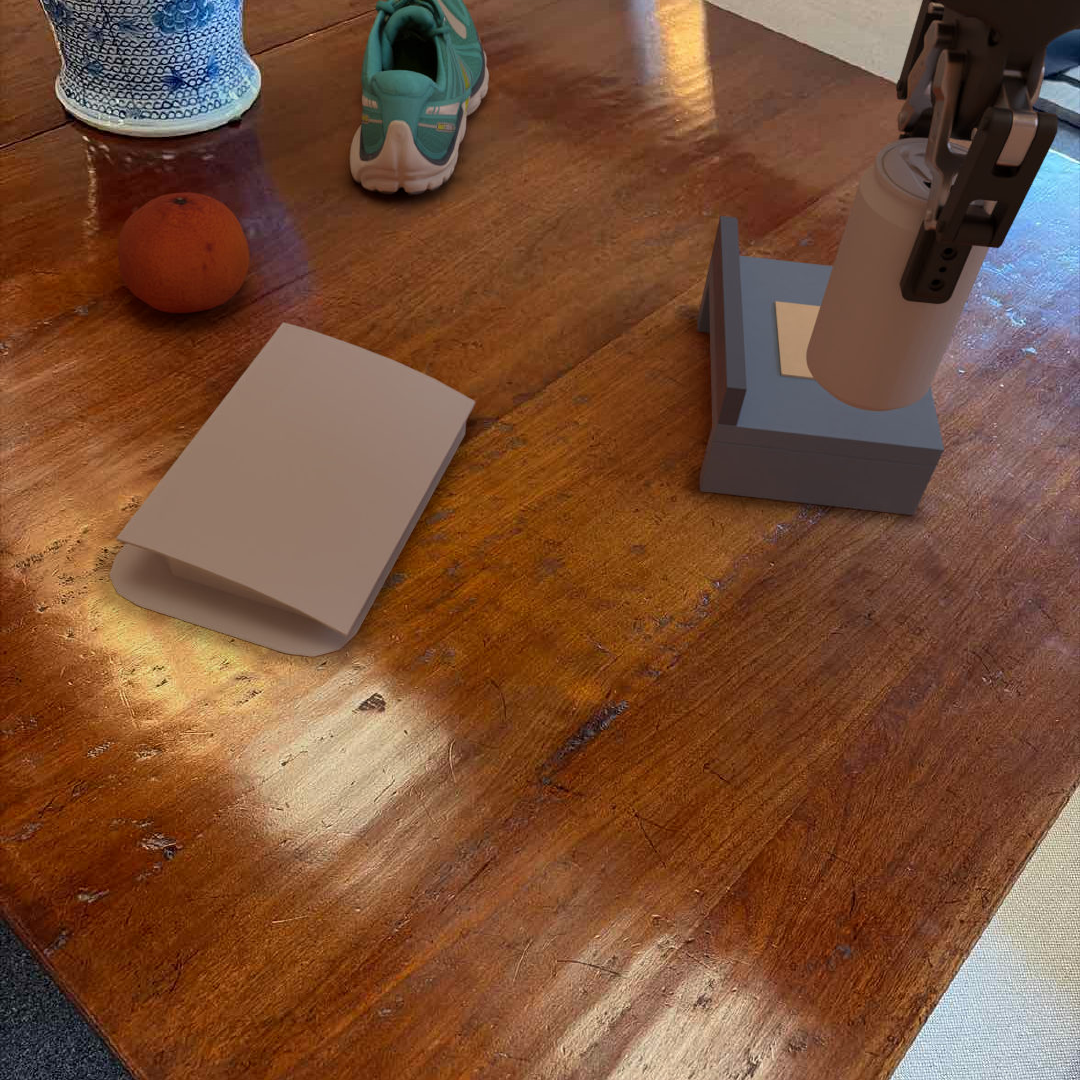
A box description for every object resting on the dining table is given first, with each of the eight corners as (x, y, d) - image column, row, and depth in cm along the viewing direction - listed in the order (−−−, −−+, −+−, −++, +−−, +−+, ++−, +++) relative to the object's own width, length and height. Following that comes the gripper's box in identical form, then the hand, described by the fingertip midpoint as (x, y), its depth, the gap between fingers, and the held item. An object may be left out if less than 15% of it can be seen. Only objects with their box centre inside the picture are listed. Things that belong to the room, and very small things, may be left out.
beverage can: (848, 433, 58) (928, 223, 49) (777, 352, 62) (840, 143, 53) (951, 403, 60) (1046, 196, 51) (877, 326, 64) (953, 121, 55)
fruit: (229, 248, 90) (216, 153, 84) (269, 317, 85) (258, 220, 79) (111, 274, 87) (89, 177, 81) (145, 347, 82) (124, 249, 76)
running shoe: (489, 45, 115) (496, -79, 106) (483, 215, 96) (490, 81, 87) (373, 37, 114) (370, -89, 106) (343, 206, 95) (336, 70, 87)
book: (90, 590, 68) (75, 545, 65) (273, 350, 83) (267, 305, 80) (338, 670, 66) (334, 627, 63) (480, 409, 81) (483, 364, 78)
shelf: (882, 340, 89) (921, 238, 83) (913, 516, 77) (961, 413, 71) (697, 319, 89) (720, 215, 82) (699, 491, 77) (726, 386, 70)
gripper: (1222, -43, 38) (1022, 360, 51) (1107, -194, 48) (963, 176, 60) (991, -68, 38) (847, 342, 51) (922, -215, 48) (816, 160, 60)
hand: (910, 250), depth 55 cm, fingers closed on beverage can, 6 cm apart
